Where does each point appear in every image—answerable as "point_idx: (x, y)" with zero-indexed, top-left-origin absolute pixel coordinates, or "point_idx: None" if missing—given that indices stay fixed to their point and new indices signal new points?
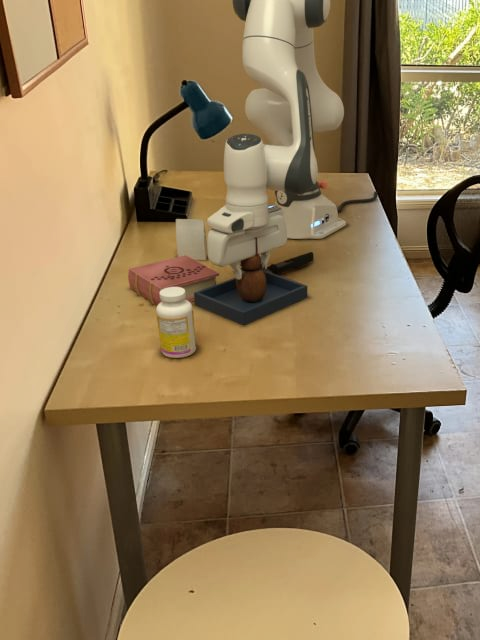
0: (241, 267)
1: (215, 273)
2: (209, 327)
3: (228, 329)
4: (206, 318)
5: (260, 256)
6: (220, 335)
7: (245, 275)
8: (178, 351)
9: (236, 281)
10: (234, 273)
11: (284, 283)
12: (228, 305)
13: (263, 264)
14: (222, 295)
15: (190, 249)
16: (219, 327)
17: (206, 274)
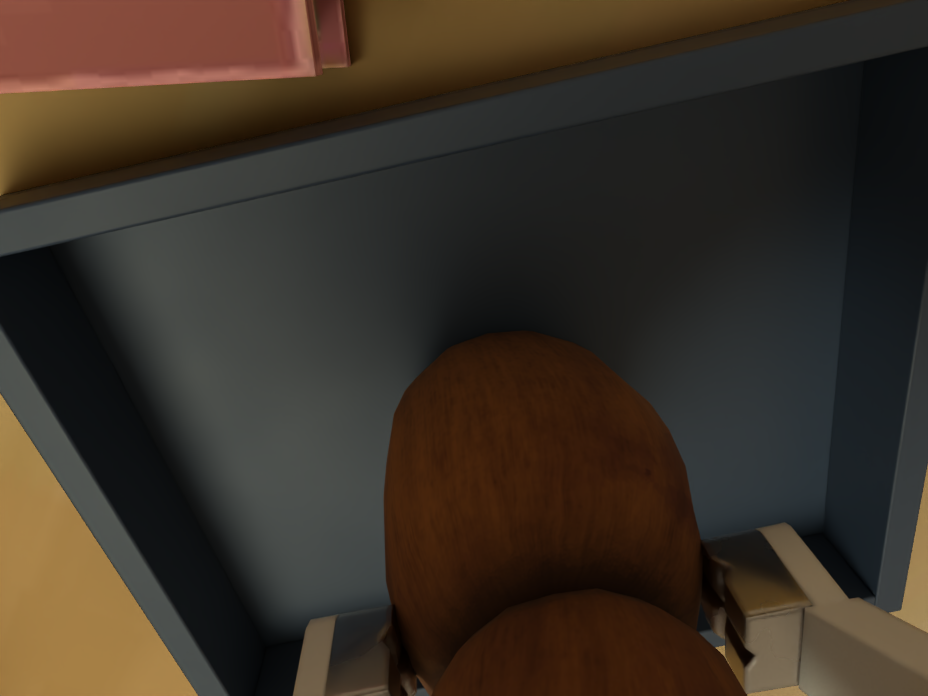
0: (499, 554)
1: (248, 69)
2: (32, 586)
3: (146, 650)
4: (45, 471)
5: (893, 660)
6: (73, 684)
7: (425, 686)
8: None
9: (389, 460)
10: (298, 671)
11: (872, 405)
12: (172, 630)
13: (766, 681)
14: (316, 191)
15: None
16: (99, 611)
17: (85, 17)
